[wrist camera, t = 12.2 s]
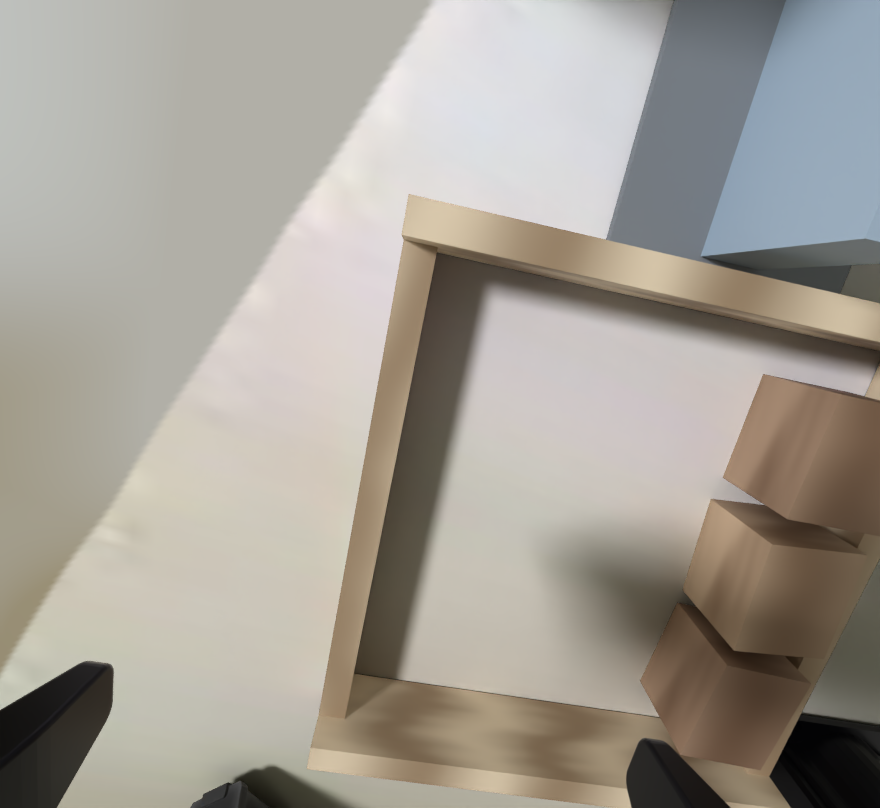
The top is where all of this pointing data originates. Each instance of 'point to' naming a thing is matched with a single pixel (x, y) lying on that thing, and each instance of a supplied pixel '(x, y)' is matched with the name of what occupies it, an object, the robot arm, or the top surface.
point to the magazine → (229, 798)
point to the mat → (699, 132)
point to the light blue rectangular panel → (808, 146)
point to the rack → (347, 694)
